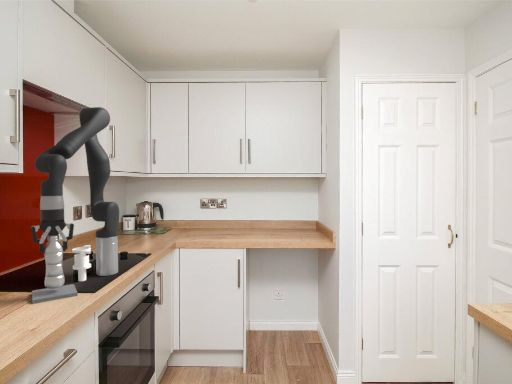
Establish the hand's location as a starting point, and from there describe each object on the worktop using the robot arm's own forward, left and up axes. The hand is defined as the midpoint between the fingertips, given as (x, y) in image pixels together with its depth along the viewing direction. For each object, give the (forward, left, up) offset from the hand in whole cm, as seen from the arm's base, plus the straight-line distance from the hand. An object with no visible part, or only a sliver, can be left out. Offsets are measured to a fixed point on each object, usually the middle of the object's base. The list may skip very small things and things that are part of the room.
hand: (53, 252), depth 123 cm
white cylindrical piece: (-14, +11, -16) cm, 24 cm away
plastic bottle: (0, 0, -14) cm, 14 cm away
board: (0, 0, -16) cm, 16 cm away
